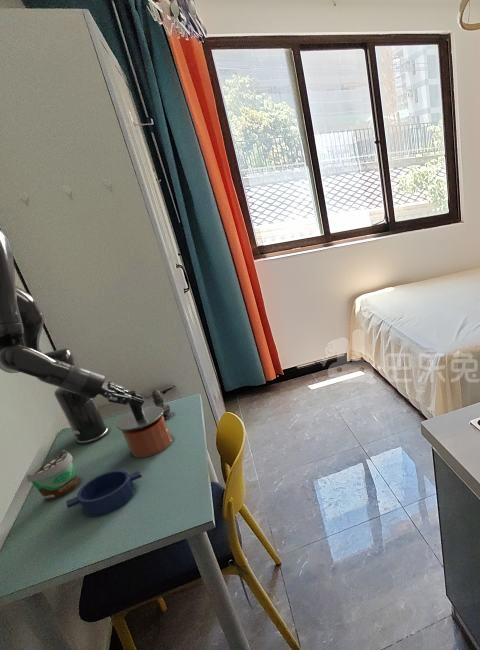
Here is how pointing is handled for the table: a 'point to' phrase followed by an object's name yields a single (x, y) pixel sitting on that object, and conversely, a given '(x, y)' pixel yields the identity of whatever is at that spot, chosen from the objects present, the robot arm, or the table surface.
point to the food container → (55, 477)
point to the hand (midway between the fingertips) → (141, 401)
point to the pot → (148, 438)
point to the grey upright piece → (161, 404)
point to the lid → (139, 416)
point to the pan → (106, 492)
